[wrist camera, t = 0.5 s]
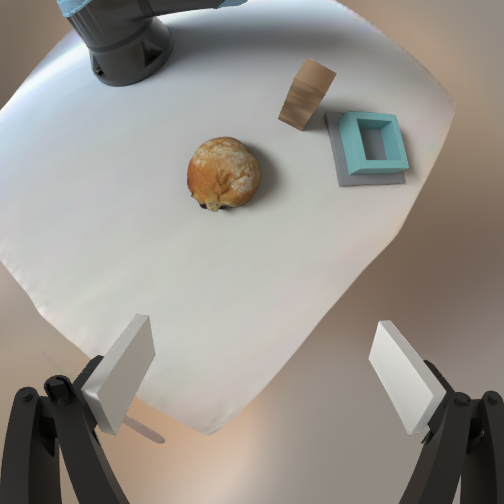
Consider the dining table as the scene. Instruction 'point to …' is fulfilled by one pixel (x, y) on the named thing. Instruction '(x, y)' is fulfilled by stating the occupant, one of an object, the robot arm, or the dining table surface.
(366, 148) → the teal square socket
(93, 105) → the dining table surface
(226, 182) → the bread roll
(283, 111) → the walnut post
